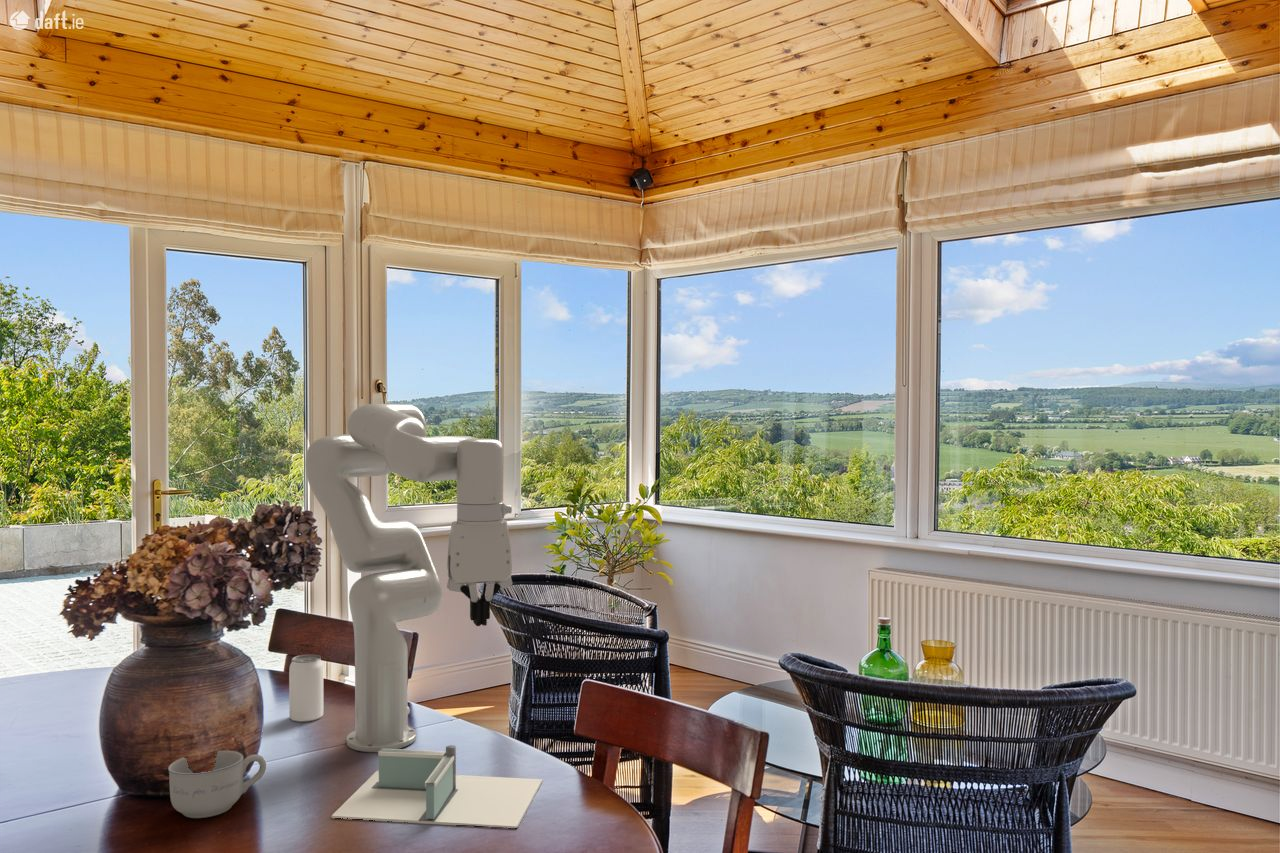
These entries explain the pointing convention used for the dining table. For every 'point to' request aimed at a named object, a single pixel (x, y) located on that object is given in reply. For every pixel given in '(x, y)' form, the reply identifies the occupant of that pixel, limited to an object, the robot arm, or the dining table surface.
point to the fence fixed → (411, 766)
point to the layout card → (446, 802)
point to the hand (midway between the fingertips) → (479, 623)
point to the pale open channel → (439, 786)
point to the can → (306, 688)
